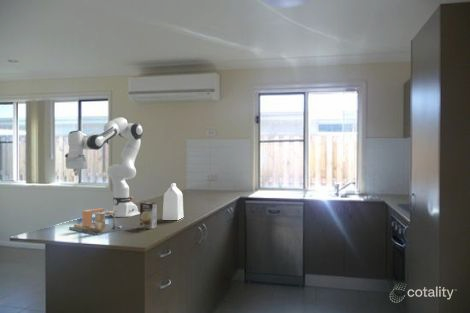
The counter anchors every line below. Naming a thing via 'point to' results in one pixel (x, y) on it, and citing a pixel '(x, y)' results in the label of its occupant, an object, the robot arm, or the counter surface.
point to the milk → (173, 204)
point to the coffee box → (148, 215)
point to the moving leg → (89, 216)
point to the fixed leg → (98, 222)
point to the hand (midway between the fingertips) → (77, 175)
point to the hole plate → (107, 229)
